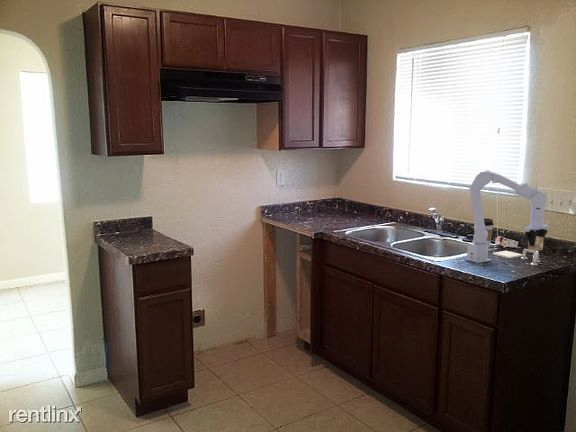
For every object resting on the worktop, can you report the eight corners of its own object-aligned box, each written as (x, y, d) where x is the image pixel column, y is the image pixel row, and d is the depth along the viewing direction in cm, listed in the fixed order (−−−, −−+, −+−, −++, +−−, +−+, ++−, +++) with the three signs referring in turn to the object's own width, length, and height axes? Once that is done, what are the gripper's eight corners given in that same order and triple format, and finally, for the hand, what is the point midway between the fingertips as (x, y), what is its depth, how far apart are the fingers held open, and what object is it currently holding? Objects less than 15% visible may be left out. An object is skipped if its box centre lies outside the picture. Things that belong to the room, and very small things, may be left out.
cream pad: (508, 258, 253) (509, 256, 253) (492, 254, 262) (492, 252, 262) (522, 256, 258) (522, 254, 258) (505, 252, 267) (505, 250, 267)
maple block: (536, 251, 237) (537, 238, 236) (527, 249, 241) (528, 236, 240) (542, 249, 239) (543, 237, 238) (534, 248, 243) (534, 235, 242)
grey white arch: (534, 265, 239) (535, 255, 238) (511, 259, 250) (511, 249, 250) (547, 263, 243) (547, 252, 242) (523, 257, 255) (524, 247, 254)
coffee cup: (494, 245, 281) (495, 219, 279) (490, 248, 274) (491, 221, 272) (478, 244, 286) (479, 217, 284) (474, 247, 279) (475, 220, 277)
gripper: (534, 219, 231) (532, 248, 233) (555, 216, 237) (553, 245, 239) (521, 217, 237) (519, 245, 239) (541, 214, 243) (539, 242, 246)
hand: (535, 245), depth 240 cm, fingers closed on maple block, 4 cm apart
